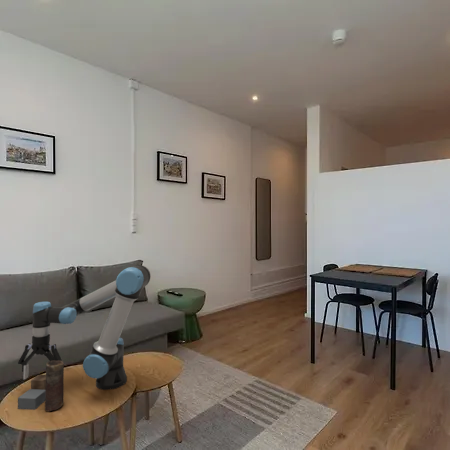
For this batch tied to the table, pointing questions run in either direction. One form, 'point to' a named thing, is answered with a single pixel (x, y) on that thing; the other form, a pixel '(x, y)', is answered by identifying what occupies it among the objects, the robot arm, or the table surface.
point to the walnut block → (39, 382)
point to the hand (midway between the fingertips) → (39, 378)
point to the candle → (54, 385)
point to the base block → (31, 399)
